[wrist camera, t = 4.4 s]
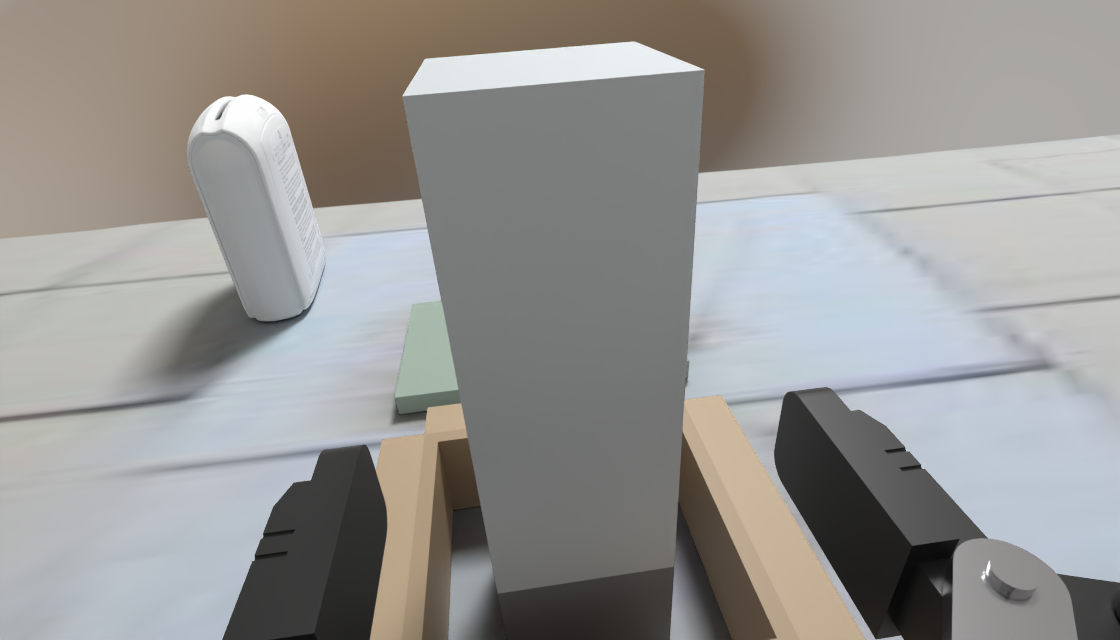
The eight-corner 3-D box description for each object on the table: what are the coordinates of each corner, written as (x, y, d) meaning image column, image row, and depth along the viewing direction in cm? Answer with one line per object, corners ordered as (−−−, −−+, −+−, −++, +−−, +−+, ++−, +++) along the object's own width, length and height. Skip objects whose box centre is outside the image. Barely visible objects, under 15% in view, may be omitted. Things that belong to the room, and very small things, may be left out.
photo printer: (273, 261, 44) (213, 88, 38) (332, 253, 45) (283, 81, 38) (241, 330, 35) (155, 120, 29) (314, 318, 36) (246, 110, 30)
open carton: (349, 887, 13) (305, 823, 11) (405, 478, 24) (387, 412, 22) (874, 788, 14) (910, 715, 12) (702, 438, 25) (707, 371, 23)
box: (513, 678, 17) (402, 96, 9) (506, 545, 21) (425, 58, 12) (668, 652, 17) (704, 69, 9) (632, 526, 21) (634, 41, 13)
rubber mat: (399, 414, 27) (394, 397, 27) (415, 318, 35) (412, 304, 35) (687, 377, 28) (689, 360, 28) (642, 292, 36) (642, 277, 36)
